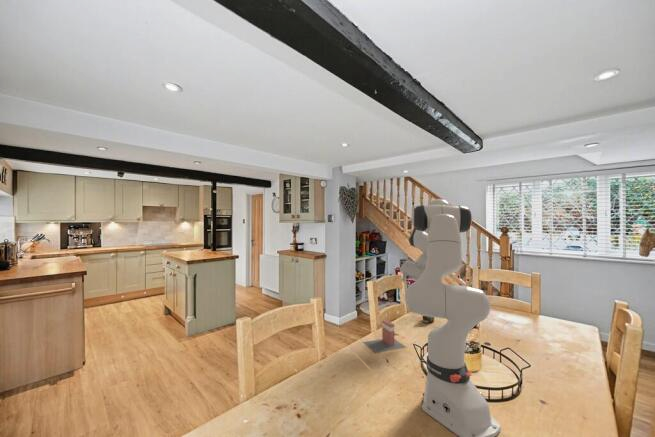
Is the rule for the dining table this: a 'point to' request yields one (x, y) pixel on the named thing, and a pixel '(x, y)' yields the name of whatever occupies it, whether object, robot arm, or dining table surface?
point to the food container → (428, 319)
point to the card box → (388, 332)
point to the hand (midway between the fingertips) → (410, 284)
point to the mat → (383, 345)
